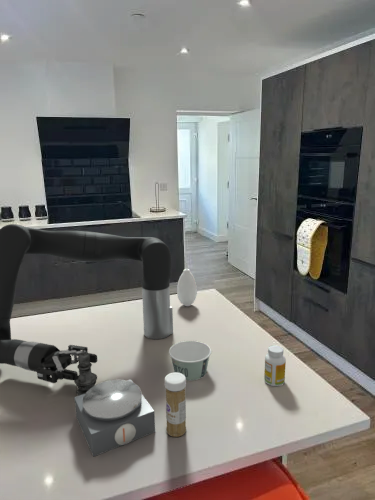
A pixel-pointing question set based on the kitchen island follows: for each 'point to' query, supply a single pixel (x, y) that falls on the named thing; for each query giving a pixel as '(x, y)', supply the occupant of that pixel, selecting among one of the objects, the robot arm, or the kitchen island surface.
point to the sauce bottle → (186, 288)
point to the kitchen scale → (115, 427)
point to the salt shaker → (85, 374)
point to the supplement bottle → (275, 366)
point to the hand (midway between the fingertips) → (87, 367)
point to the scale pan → (112, 400)
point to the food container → (190, 358)
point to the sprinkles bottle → (175, 404)
